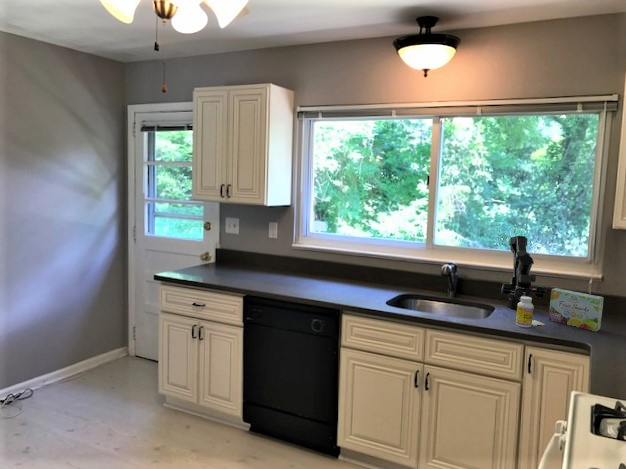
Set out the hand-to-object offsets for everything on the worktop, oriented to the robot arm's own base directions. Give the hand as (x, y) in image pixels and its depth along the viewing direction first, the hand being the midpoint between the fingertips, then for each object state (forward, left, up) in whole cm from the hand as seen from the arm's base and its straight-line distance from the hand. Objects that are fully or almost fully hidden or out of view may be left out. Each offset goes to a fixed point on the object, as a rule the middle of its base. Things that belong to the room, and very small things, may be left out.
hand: (523, 306), depth 245 cm
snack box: (-22, +7, -8) cm, 25 cm away
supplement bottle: (+3, +4, -8) cm, 9 cm away
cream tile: (-5, +2, -8) cm, 9 cm away
